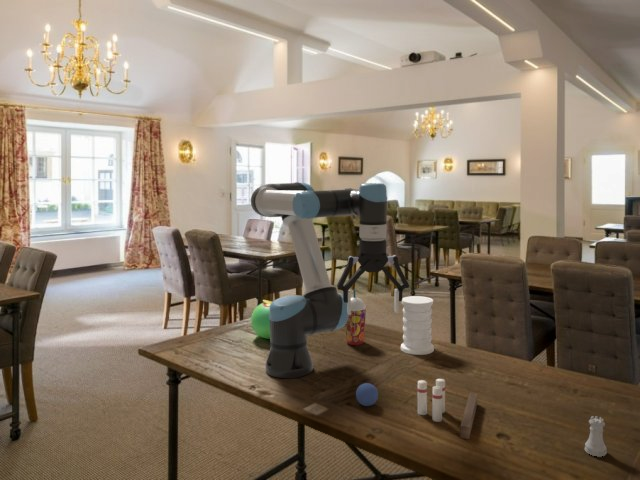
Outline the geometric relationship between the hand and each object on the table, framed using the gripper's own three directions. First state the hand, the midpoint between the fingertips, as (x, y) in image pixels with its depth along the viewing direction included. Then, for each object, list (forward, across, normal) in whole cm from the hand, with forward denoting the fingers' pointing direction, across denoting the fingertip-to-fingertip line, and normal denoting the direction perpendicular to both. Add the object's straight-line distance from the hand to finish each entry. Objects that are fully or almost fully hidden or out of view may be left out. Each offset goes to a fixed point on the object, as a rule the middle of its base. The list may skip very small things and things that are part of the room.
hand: (372, 312), depth 153 cm
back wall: (+22, +22, -21) cm, 38 cm away
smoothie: (+24, 0, +43) cm, 49 cm away
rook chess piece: (+22, +44, -39) cm, 63 cm away
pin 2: (+23, +14, -20) cm, 33 cm away
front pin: (+23, +11, -16) cm, 30 cm away
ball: (+20, -3, -10) cm, 22 cm away
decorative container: (+24, +21, +33) cm, 46 cm away
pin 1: (+23, +16, -16) cm, 32 cm away
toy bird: (+24, -30, +53) cm, 66 cm away
